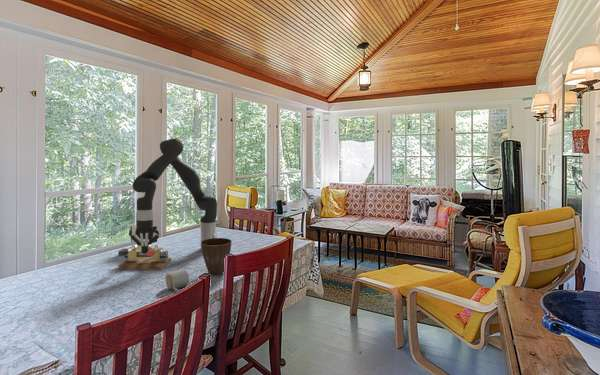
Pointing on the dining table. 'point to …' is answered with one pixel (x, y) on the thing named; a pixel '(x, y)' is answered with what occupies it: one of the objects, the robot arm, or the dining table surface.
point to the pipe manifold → (137, 254)
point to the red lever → (152, 250)
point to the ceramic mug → (177, 279)
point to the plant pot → (215, 254)
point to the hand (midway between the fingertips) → (144, 253)
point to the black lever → (126, 250)
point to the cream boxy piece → (132, 231)
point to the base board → (144, 264)
